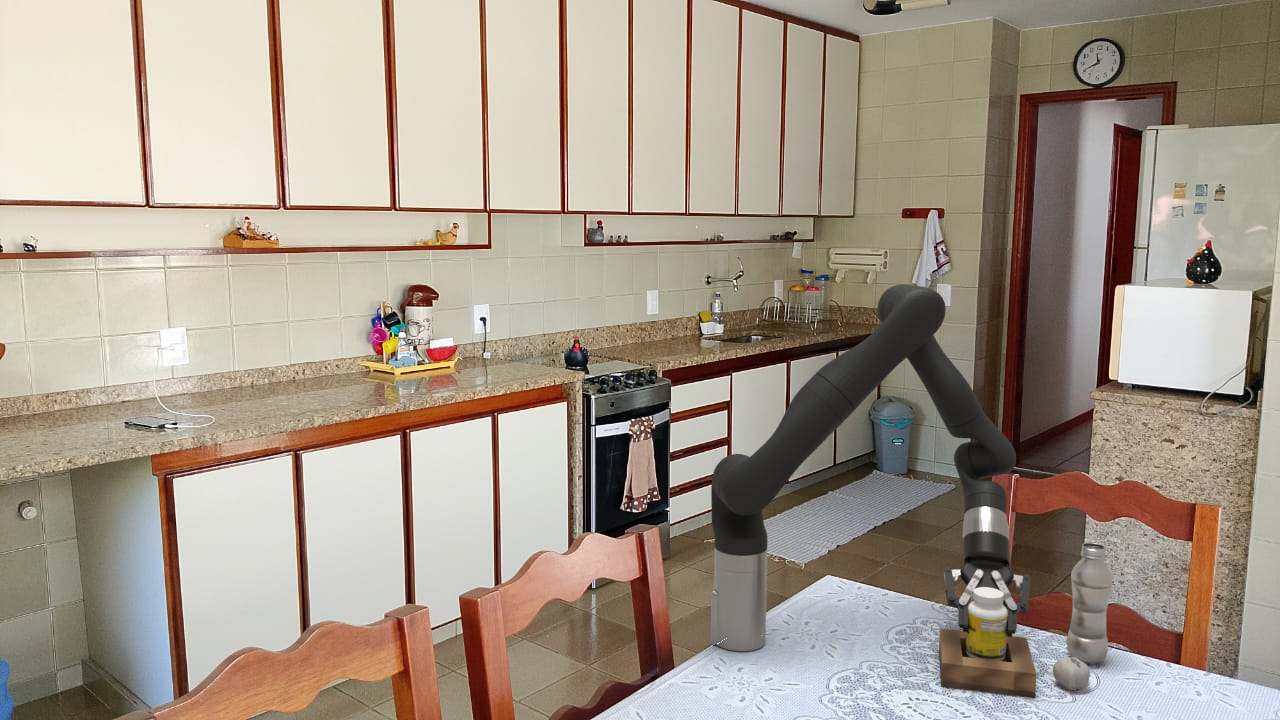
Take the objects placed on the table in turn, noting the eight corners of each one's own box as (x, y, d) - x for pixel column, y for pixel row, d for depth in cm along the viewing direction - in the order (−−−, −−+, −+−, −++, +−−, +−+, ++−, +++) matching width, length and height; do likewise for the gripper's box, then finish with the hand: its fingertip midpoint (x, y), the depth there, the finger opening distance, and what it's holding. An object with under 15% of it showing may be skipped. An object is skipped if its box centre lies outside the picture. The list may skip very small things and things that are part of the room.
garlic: (1093, 696, 149) (1095, 665, 149) (1056, 693, 151) (1058, 662, 150) (1084, 679, 155) (1086, 649, 155) (1048, 676, 156) (1050, 646, 156)
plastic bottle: (1066, 664, 160) (1073, 550, 158) (1064, 648, 167) (1071, 538, 164) (1108, 671, 158) (1116, 555, 155) (1105, 654, 164) (1113, 542, 162)
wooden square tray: (941, 686, 153) (942, 662, 152) (938, 650, 166) (939, 628, 165) (1035, 698, 149) (1036, 673, 148) (1025, 660, 162) (1026, 637, 162)
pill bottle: (963, 646, 161) (966, 583, 159) (1002, 649, 160) (1005, 586, 158) (967, 662, 155) (971, 597, 153) (1008, 666, 154) (1011, 600, 152)
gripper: (943, 525, 164) (942, 618, 154) (1033, 532, 160) (1038, 628, 150) (941, 545, 169) (940, 636, 160) (1028, 553, 165) (1032, 646, 156)
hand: (987, 632), depth 155 cm, fingers closed on pill bottle, 6 cm apart
